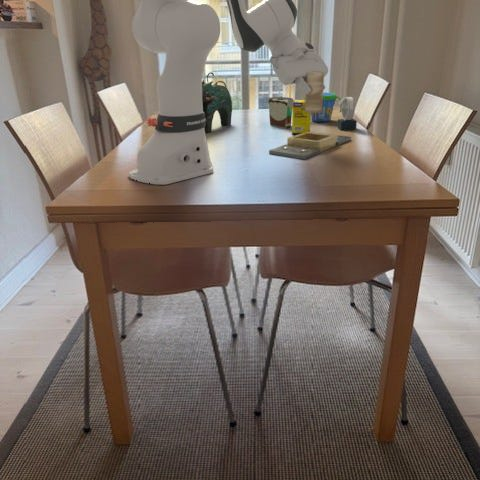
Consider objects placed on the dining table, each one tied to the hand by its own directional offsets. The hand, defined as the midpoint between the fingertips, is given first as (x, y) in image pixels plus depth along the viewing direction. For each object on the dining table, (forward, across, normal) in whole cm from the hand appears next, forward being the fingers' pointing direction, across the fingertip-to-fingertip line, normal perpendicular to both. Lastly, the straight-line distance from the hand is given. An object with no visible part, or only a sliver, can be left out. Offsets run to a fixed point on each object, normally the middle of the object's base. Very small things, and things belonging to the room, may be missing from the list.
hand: (316, 90), depth 130 cm
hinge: (+11, 0, +12) cm, 16 cm away
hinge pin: (+4, 0, +5) cm, 6 cm away
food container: (-8, +21, +32) cm, 39 cm away
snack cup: (-4, +38, +28) cm, 48 cm away
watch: (+7, +30, +17) cm, 35 cm away
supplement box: (+1, +14, +22) cm, 26 cm away
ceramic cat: (-21, +2, +44) cm, 49 cm away
